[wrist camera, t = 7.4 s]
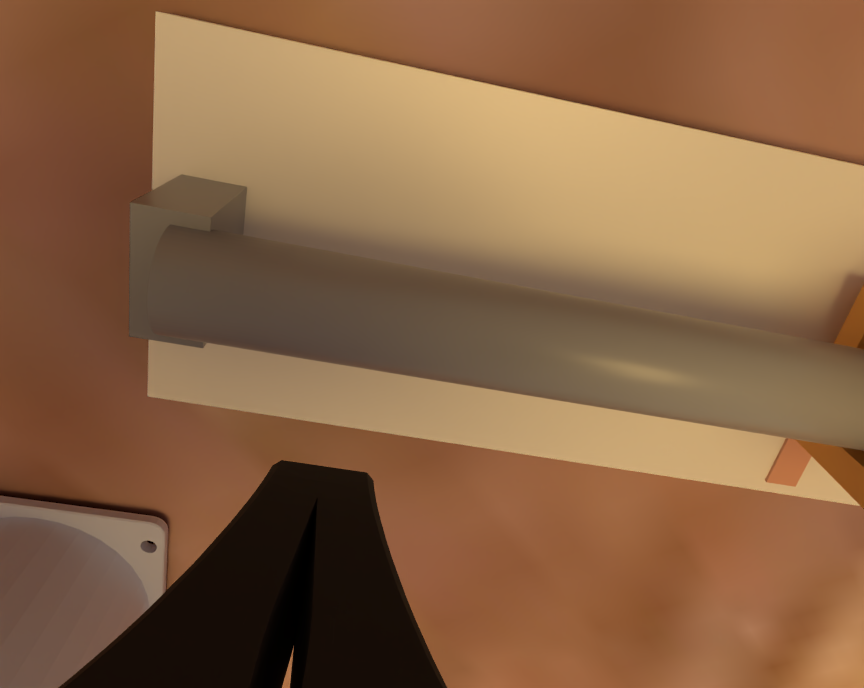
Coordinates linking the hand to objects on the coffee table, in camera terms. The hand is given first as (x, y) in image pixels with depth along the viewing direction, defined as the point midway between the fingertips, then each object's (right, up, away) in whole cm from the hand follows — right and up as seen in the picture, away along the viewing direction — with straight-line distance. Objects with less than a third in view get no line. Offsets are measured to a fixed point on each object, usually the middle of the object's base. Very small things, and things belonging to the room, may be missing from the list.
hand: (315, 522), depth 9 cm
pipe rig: (+8, +4, +9) cm, 13 cm away
